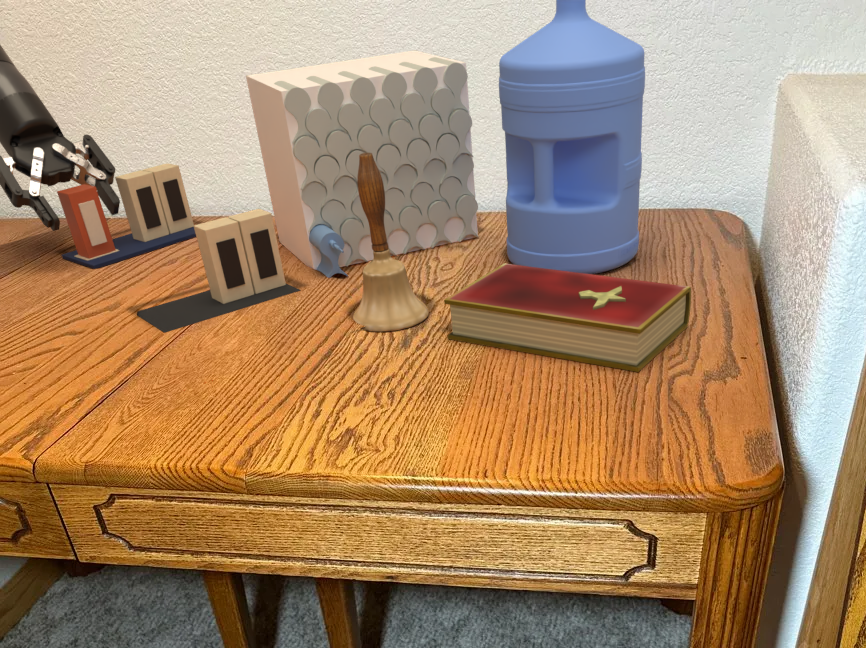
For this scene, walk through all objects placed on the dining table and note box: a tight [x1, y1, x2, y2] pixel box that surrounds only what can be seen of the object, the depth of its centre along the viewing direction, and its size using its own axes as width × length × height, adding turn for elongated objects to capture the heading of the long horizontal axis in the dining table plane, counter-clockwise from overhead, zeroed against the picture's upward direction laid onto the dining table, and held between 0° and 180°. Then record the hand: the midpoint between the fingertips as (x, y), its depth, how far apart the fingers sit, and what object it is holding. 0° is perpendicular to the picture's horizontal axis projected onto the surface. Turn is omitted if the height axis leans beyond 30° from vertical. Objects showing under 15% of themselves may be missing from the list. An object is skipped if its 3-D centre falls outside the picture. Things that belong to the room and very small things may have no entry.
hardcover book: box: [443, 262, 692, 373], centre depth 90 cm, size 12×21×4 cm, turn 58°
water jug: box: [498, 0, 646, 275], centre depth 100 cm, size 16×16×28 cm
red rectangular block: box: [56, 184, 116, 259], centre depth 120 cm, size 4×3×8 cm
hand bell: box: [352, 153, 430, 333], centre depth 93 cm, size 8×8×16 cm
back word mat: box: [61, 162, 197, 270], centre depth 124 cm, size 18×9×8 cm, turn 137°
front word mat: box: [136, 208, 301, 334], centre depth 102 cm, size 17×9×8 cm, turn 128°
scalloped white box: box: [245, 49, 480, 279], centre depth 111 cm, size 22×24×20 cm
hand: (87, 218), depth 119 cm, fingers open, 8 cm apart
